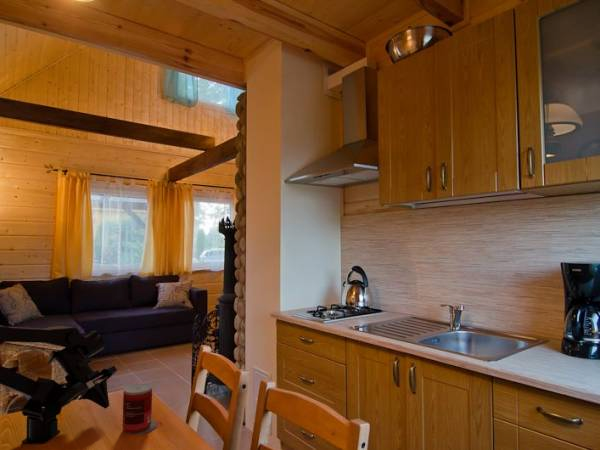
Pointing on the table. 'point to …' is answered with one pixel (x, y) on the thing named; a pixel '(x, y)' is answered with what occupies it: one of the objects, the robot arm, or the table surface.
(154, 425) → the coaster
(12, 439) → the table surface
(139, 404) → the canned food
